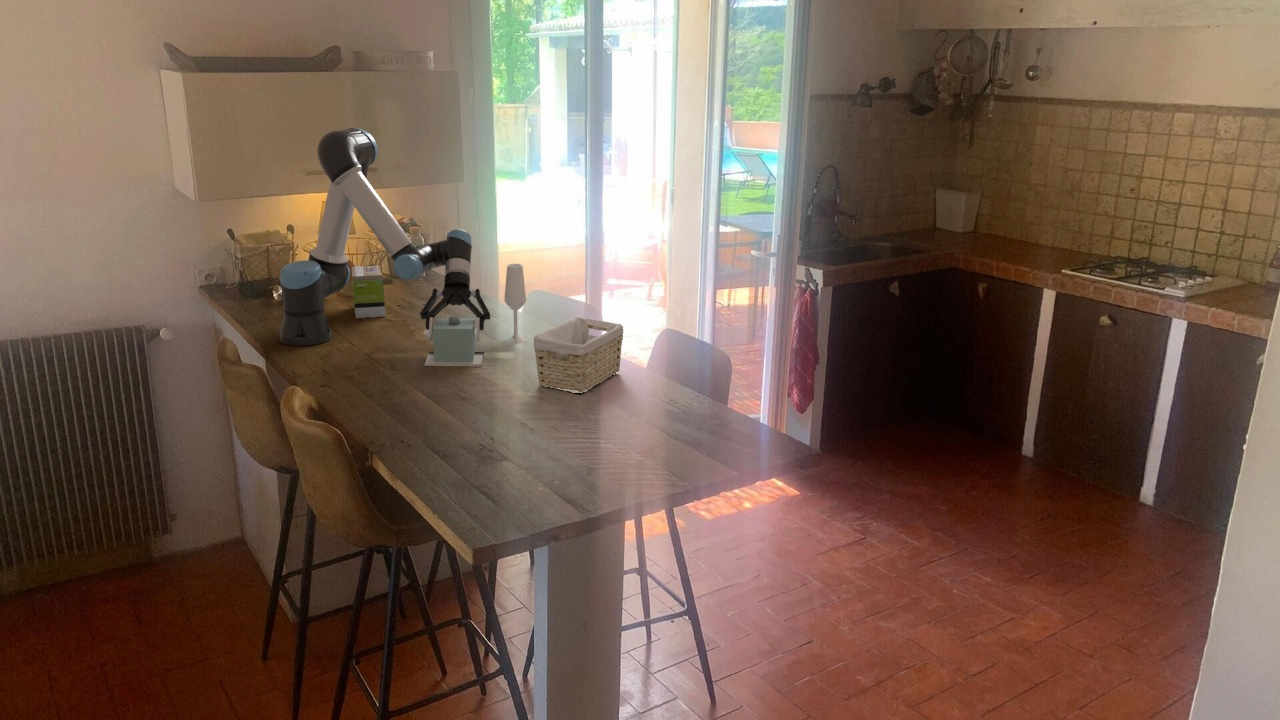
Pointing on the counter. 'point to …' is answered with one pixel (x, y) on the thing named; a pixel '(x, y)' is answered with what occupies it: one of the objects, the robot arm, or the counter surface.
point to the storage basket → (578, 354)
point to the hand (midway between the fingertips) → (454, 339)
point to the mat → (476, 362)
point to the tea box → (368, 291)
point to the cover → (454, 339)
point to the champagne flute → (515, 294)
